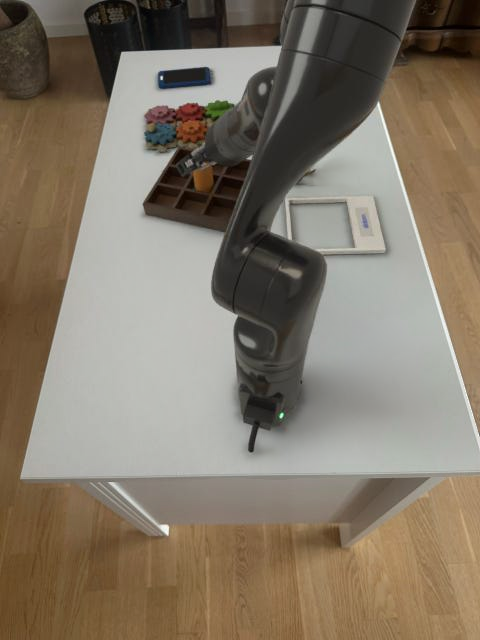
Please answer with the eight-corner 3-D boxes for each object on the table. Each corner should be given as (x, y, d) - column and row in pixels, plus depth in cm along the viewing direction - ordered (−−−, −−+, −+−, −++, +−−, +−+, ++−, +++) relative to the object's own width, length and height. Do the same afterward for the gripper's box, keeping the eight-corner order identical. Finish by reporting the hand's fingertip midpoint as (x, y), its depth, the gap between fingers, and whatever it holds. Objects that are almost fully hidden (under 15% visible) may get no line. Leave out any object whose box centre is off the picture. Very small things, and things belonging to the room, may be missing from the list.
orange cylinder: (210, 198, 92) (206, 166, 86) (192, 194, 93) (187, 162, 86) (217, 185, 94) (213, 153, 88) (199, 182, 95) (195, 150, 88)
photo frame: (385, 249, 82) (289, 251, 83) (384, 253, 83) (289, 255, 84) (373, 195, 90) (285, 197, 91) (372, 199, 91) (284, 201, 92)
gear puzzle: (269, 102, 111) (269, 86, 108) (278, 141, 103) (279, 125, 99) (145, 113, 111) (142, 98, 107) (145, 154, 102) (141, 139, 98)
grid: (232, 233, 88) (231, 223, 85) (145, 214, 91) (142, 203, 89) (260, 172, 97) (260, 161, 95) (180, 157, 101) (178, 146, 98)
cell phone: (158, 73, 120) (158, 70, 119) (209, 69, 120) (209, 66, 120) (158, 88, 116) (158, 85, 116) (211, 83, 116) (210, 81, 116)
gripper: (210, 177, 69) (181, 195, 84) (280, 141, 73) (240, 164, 88) (187, 130, 67) (161, 157, 82) (260, 96, 71) (223, 128, 86)
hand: (202, 161), depth 85 cm, fingers open, 8 cm apart
